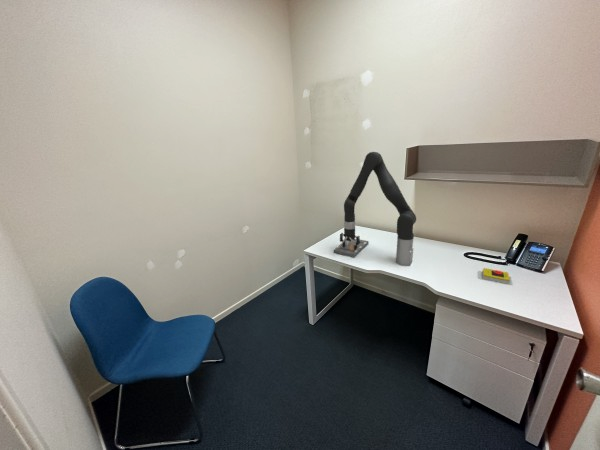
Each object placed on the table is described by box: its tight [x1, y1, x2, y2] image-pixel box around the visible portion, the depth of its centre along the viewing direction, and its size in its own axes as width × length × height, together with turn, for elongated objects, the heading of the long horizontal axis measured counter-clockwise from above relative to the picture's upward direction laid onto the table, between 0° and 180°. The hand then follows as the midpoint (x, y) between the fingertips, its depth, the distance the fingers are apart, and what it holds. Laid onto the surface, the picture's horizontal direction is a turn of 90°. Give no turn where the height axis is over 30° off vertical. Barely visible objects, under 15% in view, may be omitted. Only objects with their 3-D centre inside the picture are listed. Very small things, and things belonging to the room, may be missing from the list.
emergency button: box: [477, 267, 514, 286], centre depth 137 cm, size 9×4×15 cm
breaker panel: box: [333, 238, 370, 259], centre depth 184 cm, size 16×26×7 cm, turn 144°
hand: (349, 248), depth 177 cm, fingers open, 8 cm apart
